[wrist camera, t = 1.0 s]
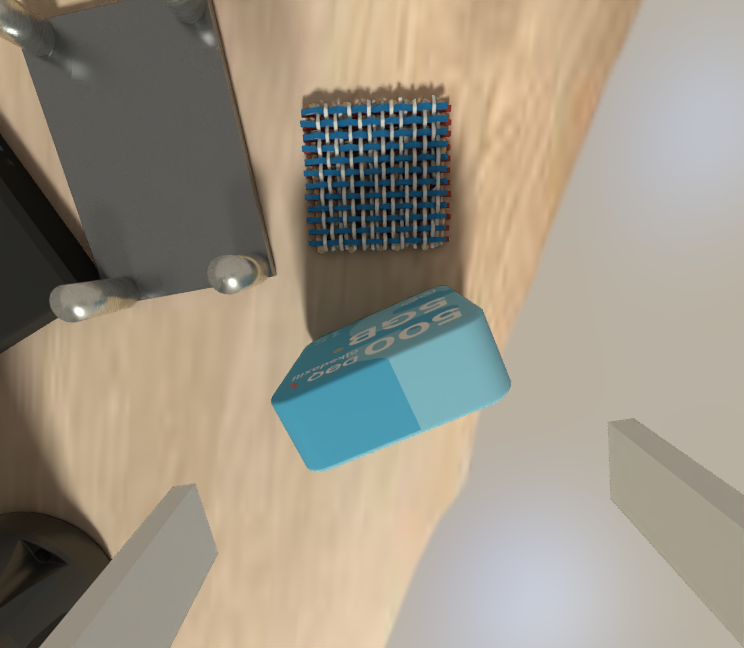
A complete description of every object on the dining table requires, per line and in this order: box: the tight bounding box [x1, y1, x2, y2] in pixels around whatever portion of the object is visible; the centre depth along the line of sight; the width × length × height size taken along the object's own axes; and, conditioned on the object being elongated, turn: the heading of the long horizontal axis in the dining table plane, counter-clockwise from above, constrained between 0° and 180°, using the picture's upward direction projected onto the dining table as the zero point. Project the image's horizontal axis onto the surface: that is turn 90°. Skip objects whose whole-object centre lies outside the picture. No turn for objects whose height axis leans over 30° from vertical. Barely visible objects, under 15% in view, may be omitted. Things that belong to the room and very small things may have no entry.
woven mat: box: [300, 94, 451, 254], centre depth 26 cm, size 10×11×2 cm
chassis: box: [0, 0, 276, 322], centre depth 24 cm, size 13×20×6 cm, turn 10°
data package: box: [271, 286, 511, 472], centre depth 24 cm, size 12×4×12 cm, turn 115°
